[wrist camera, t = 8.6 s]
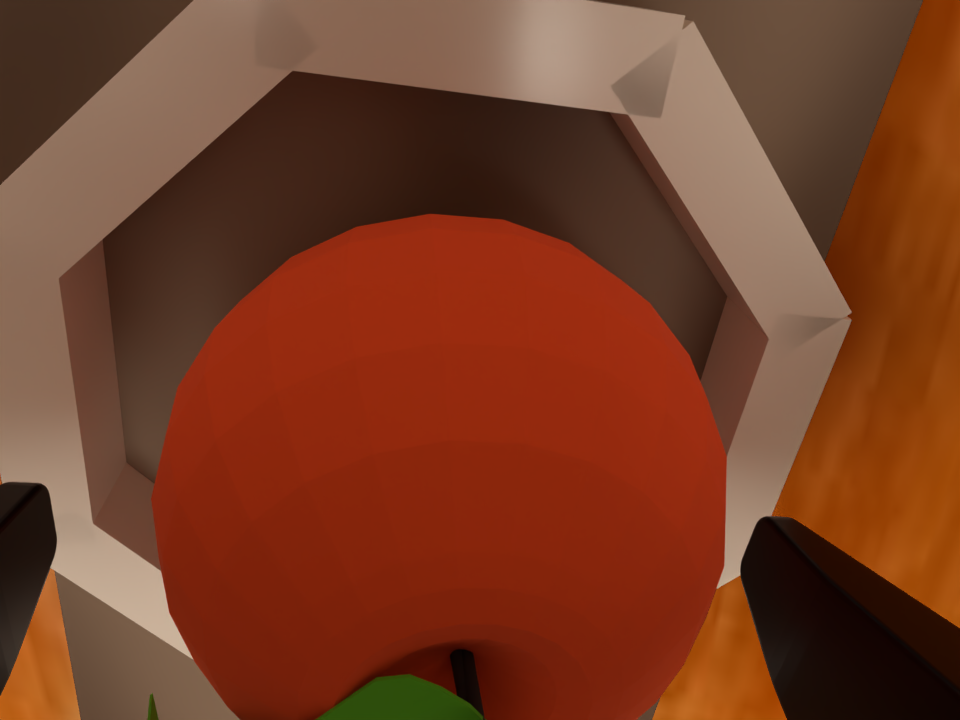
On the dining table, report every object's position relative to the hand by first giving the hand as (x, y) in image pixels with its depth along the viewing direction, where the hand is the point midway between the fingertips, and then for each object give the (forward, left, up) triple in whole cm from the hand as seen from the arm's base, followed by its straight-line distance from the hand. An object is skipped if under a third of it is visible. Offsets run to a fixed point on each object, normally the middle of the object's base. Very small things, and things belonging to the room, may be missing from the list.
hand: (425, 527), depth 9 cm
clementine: (0, 0, -4) cm, 4 cm away
